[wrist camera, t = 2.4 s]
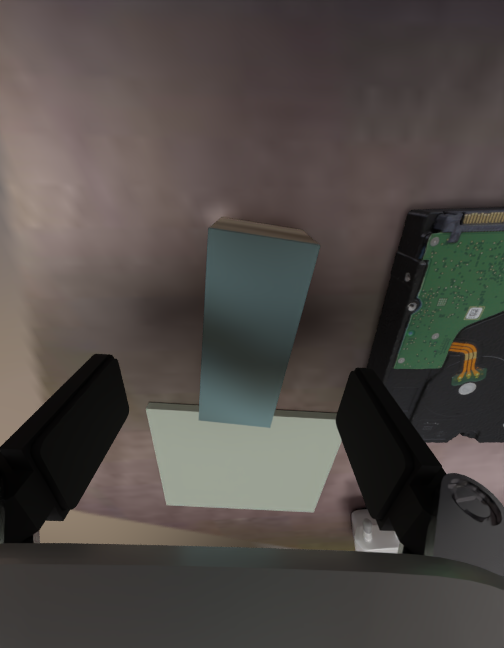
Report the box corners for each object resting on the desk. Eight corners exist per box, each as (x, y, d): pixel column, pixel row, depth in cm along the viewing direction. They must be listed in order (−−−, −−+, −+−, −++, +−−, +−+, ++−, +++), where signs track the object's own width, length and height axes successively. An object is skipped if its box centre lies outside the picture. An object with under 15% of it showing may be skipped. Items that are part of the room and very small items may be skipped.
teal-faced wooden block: (222, 216, 12) (208, 228, 8) (301, 228, 12) (320, 245, 9) (210, 371, 17) (198, 420, 13) (266, 377, 17) (270, 427, 13)
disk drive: (482, 410, 19) (618, 198, 11) (515, 443, 16) (716, 202, 9) (349, 412, 19) (398, 208, 12) (363, 445, 17) (434, 214, 9)
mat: (148, 402, 18) (145, 408, 17) (347, 413, 18) (349, 420, 18) (168, 498, 25) (166, 505, 24) (312, 505, 25) (313, 512, 25)
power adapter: (340, 480, 23) (365, 564, 18) (393, 474, 22) (435, 559, 17) (346, 531, 28) (366, 608, 23) (389, 527, 27) (420, 605, 22)
